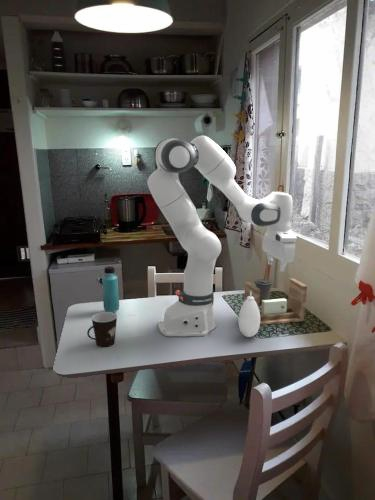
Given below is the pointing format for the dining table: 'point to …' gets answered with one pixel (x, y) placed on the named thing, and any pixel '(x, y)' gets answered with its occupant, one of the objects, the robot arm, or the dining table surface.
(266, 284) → the coffee cup
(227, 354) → the dining table surface
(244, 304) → the sauce bottle
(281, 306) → the door panel
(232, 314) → the dining table surface
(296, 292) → the track frame
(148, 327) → the dining table surface
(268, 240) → the robot arm
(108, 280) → the beverage bottle
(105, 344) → the coffee mug
